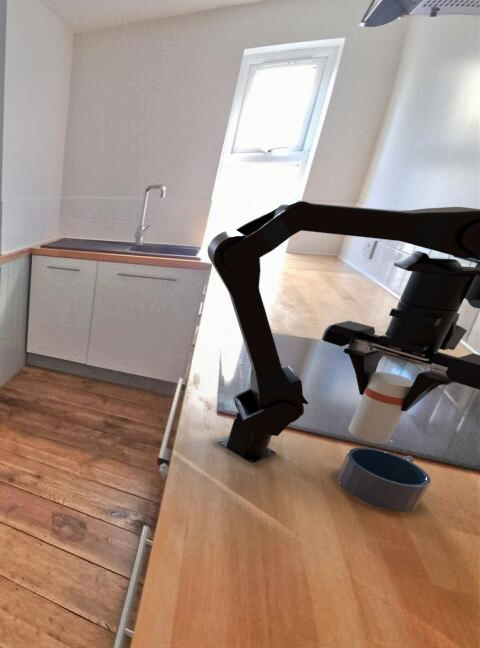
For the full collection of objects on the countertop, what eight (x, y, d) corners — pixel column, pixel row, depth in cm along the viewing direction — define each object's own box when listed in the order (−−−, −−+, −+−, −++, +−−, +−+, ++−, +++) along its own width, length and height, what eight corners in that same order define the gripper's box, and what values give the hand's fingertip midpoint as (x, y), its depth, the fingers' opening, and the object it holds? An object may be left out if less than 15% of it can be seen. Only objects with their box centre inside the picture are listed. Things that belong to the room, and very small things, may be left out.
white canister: (377, 447, 62) (405, 389, 58) (340, 430, 67) (364, 375, 63) (396, 440, 64) (424, 383, 60) (359, 423, 68) (383, 369, 64)
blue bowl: (395, 521, 58) (410, 494, 56) (323, 481, 66) (334, 456, 64) (438, 496, 62) (453, 470, 60) (366, 461, 70) (377, 437, 68)
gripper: (562, 317, 51) (498, 422, 58) (379, 283, 67) (345, 368, 74) (520, 329, 48) (456, 440, 54) (337, 290, 64) (304, 379, 70)
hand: (383, 402), depth 63 cm, fingers closed on white canister, 5 cm apart
